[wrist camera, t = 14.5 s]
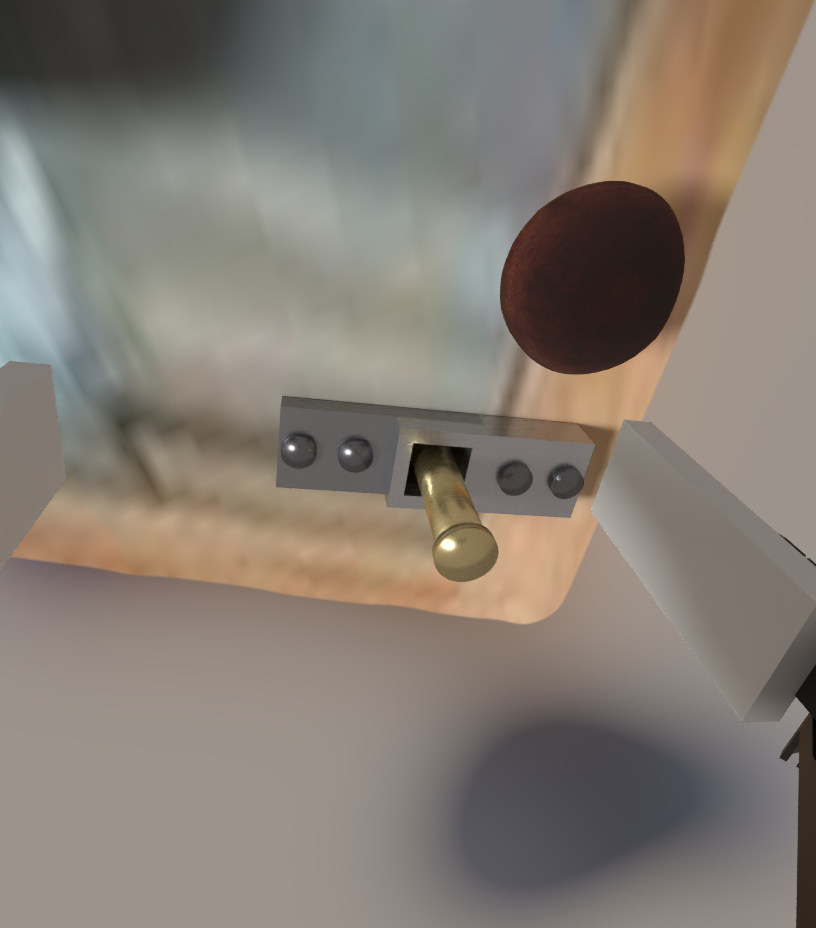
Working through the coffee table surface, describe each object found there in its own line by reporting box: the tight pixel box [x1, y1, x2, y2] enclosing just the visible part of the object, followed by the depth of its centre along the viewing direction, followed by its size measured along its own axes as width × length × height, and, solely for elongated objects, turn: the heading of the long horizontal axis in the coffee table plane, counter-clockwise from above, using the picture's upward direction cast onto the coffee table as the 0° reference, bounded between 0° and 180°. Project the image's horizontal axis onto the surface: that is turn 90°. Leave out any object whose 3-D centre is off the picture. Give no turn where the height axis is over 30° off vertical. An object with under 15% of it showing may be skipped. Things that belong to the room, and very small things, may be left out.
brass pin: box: [411, 443, 498, 582], centre depth 44 cm, size 4×4×15 cm
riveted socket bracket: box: [276, 396, 595, 518], centre depth 49 cm, size 25×7×5 cm, turn 81°
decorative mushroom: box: [500, 181, 685, 374], centre depth 37 cm, size 11×11×15 cm
